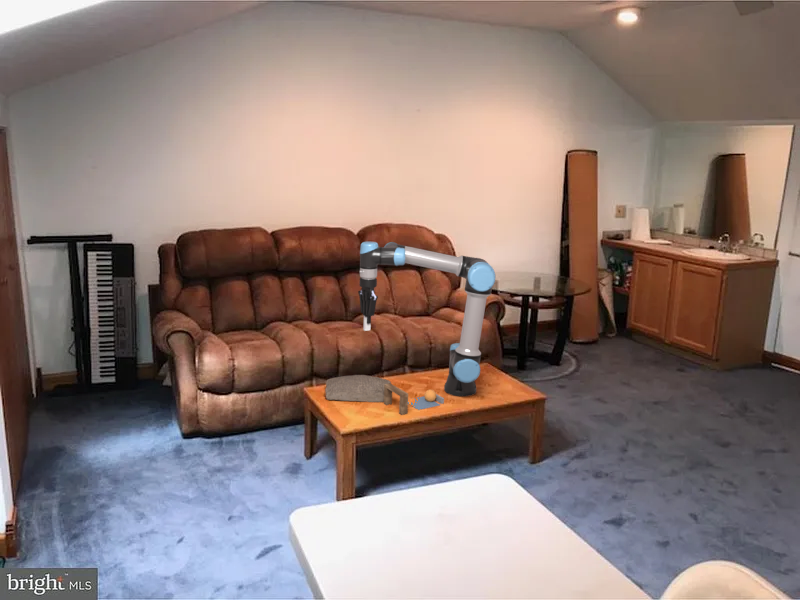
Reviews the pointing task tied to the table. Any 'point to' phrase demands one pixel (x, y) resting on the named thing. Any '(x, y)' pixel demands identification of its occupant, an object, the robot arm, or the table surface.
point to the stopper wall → (439, 399)
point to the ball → (430, 395)
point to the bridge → (403, 395)
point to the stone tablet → (356, 388)
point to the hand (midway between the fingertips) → (366, 330)
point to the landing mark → (423, 403)
